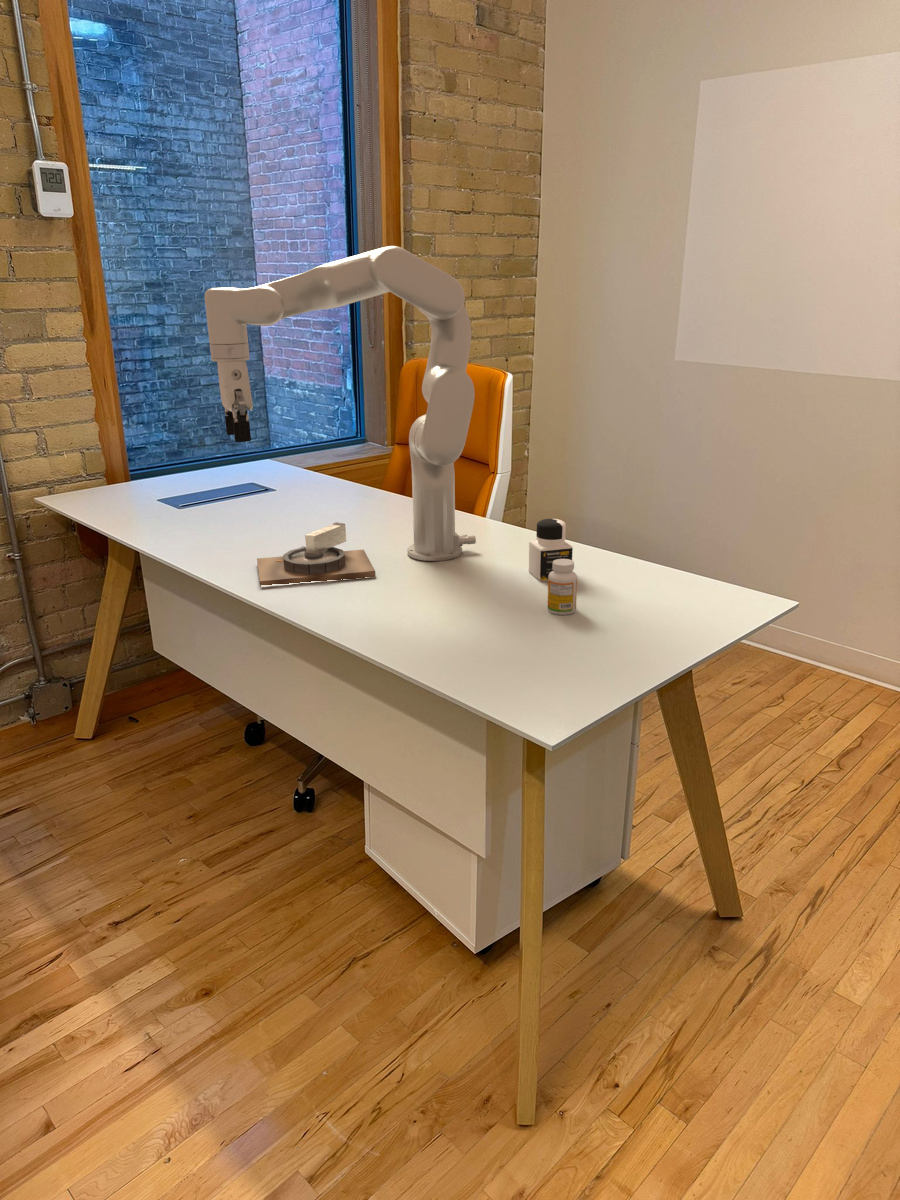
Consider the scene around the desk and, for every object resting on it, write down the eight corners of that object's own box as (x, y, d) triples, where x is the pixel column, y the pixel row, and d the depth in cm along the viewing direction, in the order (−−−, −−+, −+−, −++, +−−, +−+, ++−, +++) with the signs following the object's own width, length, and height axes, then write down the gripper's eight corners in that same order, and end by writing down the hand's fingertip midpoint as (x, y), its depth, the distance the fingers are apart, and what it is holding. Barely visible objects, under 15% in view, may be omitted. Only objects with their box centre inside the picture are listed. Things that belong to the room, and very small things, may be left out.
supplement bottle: (557, 603, 167) (558, 555, 164) (581, 609, 164) (583, 560, 160) (541, 611, 163) (543, 562, 160) (566, 617, 160) (567, 568, 157)
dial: (317, 573, 181) (315, 542, 178) (281, 566, 185) (279, 536, 183) (360, 554, 193) (359, 525, 190) (325, 548, 197) (323, 520, 195)
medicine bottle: (540, 582, 179) (541, 526, 175) (528, 571, 185) (529, 517, 181) (572, 579, 181) (574, 523, 176) (559, 568, 187) (560, 515, 183)
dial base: (363, 555, 198) (363, 540, 196) (375, 577, 183) (374, 560, 182) (257, 564, 192) (256, 548, 191) (260, 588, 178) (258, 571, 176)
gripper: (257, 354, 167) (265, 443, 173) (240, 349, 182) (248, 430, 188) (217, 356, 164) (227, 446, 170) (204, 350, 179) (213, 433, 185)
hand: (238, 437), depth 179 cm, fingers open, 9 cm apart
